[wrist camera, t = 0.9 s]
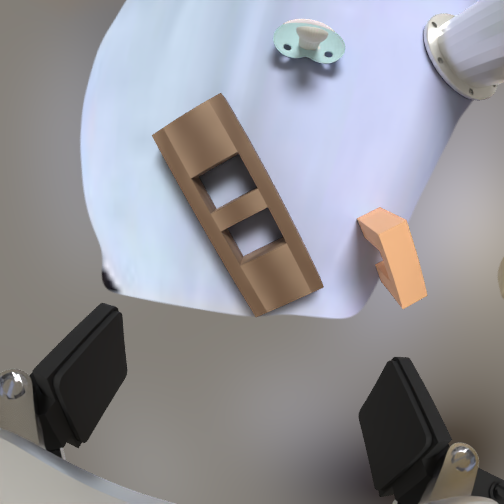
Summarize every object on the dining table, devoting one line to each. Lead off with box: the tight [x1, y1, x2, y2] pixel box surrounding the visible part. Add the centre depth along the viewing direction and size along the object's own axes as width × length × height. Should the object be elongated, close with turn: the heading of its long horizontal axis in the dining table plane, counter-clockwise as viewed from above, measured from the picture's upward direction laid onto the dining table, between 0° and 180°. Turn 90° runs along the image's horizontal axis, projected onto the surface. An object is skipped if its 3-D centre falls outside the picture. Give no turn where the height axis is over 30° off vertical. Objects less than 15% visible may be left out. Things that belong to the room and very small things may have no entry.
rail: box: [152, 93, 324, 317], centre depth 29 cm, size 8×22×3 cm, turn 28°
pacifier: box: [273, 19, 345, 64], centre depth 21 cm, size 7×6×6 cm
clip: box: [357, 207, 427, 309], centre depth 27 cm, size 3×8×7 cm, turn 28°
